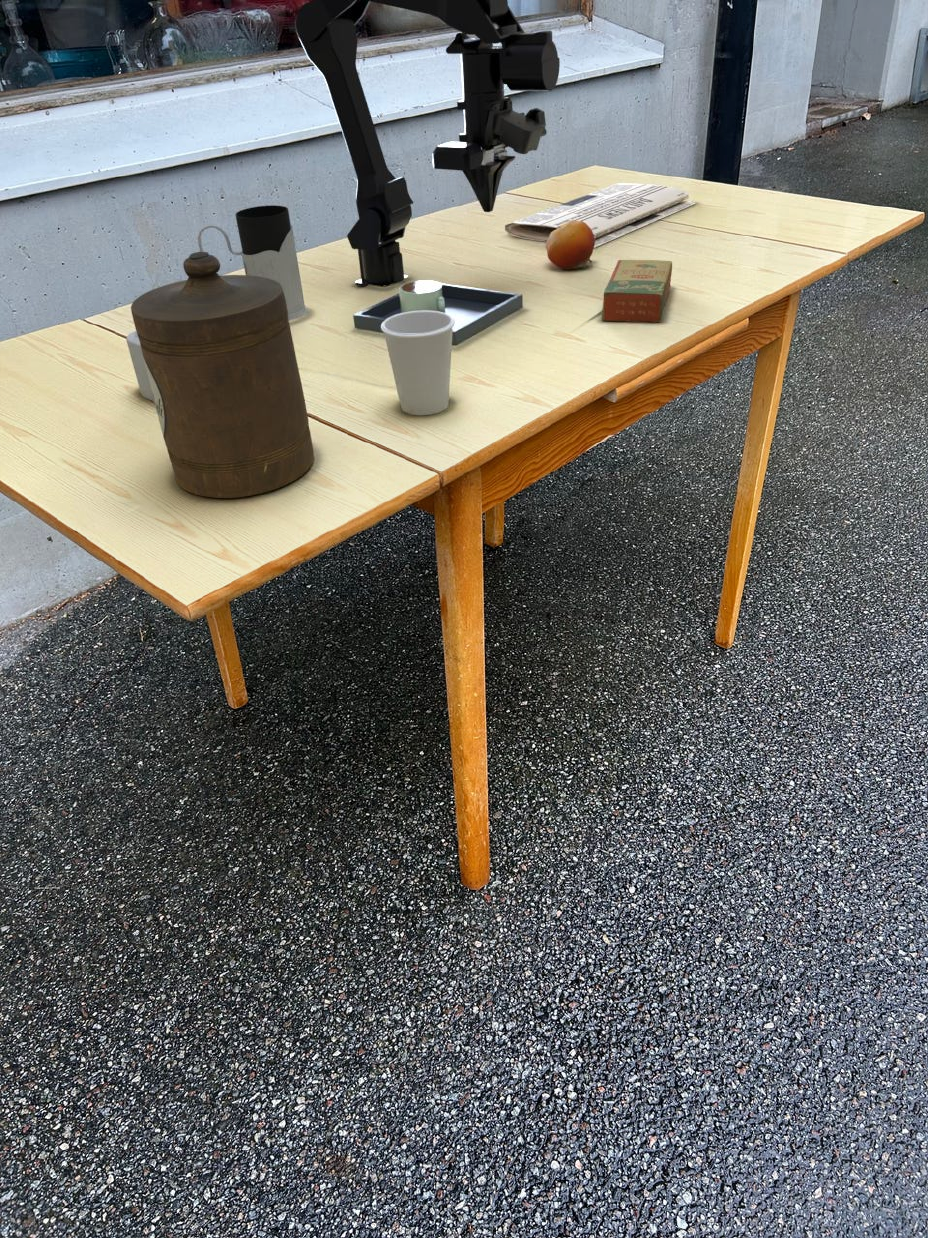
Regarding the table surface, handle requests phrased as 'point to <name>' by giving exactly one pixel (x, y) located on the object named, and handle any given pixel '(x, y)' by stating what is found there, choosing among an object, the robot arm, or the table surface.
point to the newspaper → (606, 212)
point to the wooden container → (225, 381)
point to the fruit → (571, 245)
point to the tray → (451, 310)
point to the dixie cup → (420, 359)
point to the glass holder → (269, 251)
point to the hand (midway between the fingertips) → (488, 211)
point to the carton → (637, 291)
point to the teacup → (421, 296)
